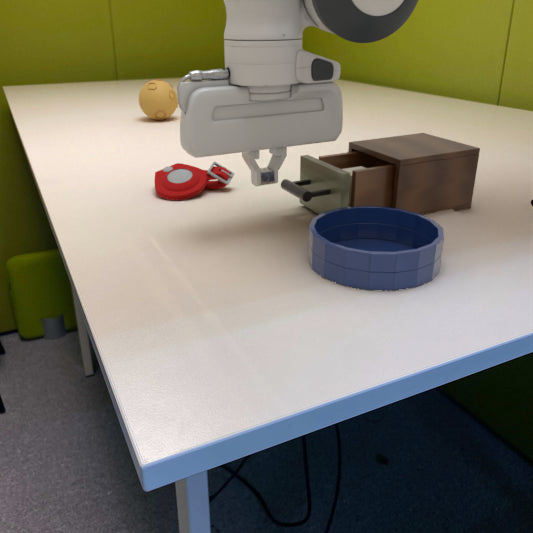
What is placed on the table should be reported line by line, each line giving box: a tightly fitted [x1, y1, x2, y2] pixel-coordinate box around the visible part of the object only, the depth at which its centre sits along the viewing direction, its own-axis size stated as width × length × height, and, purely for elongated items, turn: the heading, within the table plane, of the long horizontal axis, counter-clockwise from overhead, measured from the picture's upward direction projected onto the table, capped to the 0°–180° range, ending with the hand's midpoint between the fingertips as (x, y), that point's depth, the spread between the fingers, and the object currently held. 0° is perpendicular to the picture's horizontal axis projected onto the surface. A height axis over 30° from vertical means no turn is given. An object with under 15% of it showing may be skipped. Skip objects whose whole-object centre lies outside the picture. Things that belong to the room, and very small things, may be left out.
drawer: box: [280, 151, 396, 215], centre depth 74 cm, size 17×10×7 cm, turn 116°
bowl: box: [307, 206, 445, 292], centre depth 60 cm, size 14×14×4 cm
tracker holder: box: [154, 161, 235, 201], centre depth 87 cm, size 12×4×10 cm
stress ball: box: [138, 78, 179, 121], centre depth 140 cm, size 10×10×10 cm
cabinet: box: [347, 132, 481, 216], centre depth 78 cm, size 14×12×9 cm
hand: (264, 183), depth 68 cm, fingers closed
